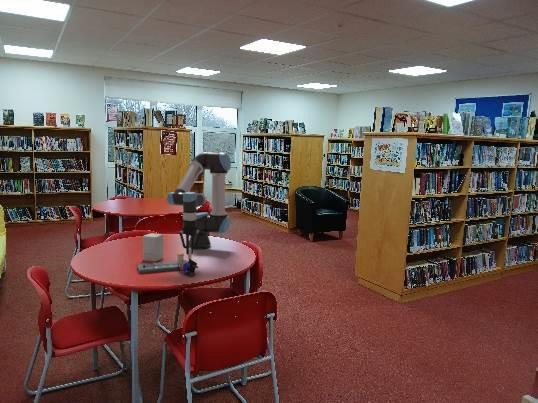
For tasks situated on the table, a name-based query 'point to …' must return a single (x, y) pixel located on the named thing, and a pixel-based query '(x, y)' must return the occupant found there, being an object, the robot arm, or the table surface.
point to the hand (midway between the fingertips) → (189, 259)
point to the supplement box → (152, 247)
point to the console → (158, 267)
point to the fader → (179, 257)
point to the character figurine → (188, 266)
